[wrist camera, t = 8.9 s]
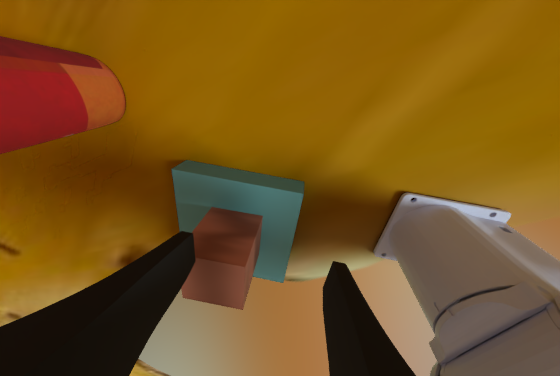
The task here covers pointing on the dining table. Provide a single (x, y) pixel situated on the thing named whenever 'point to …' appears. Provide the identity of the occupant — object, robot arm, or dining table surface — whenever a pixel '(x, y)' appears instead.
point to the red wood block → (224, 257)
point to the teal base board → (242, 207)
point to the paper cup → (53, 94)
